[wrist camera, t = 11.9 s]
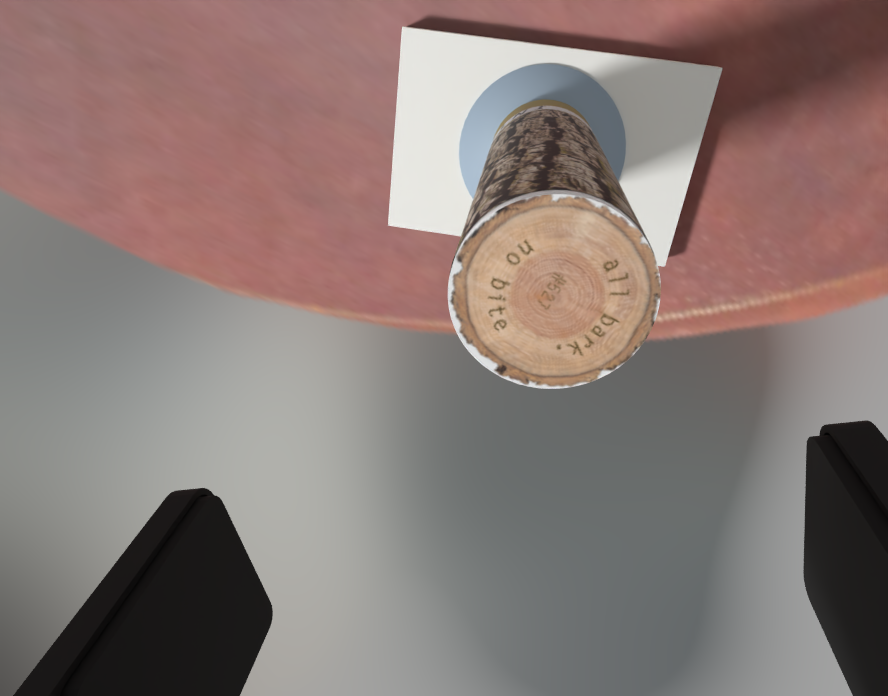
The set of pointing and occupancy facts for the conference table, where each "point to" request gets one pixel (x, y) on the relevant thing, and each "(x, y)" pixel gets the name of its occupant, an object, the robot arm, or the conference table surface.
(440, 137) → the holder board
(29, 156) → the conference table surface
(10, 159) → the conference table surface
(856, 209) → the conference table surface
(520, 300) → the paper tube
